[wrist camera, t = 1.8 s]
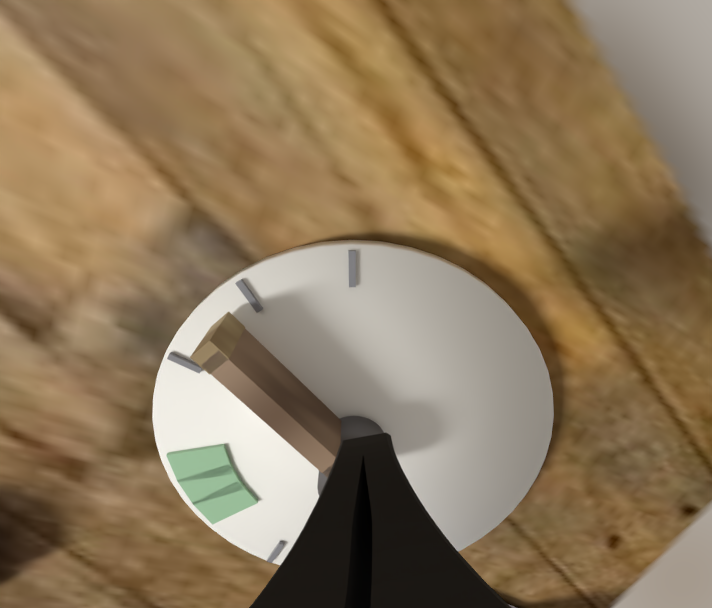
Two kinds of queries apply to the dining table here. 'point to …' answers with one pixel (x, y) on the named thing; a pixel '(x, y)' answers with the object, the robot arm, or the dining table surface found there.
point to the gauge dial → (360, 390)
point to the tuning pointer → (277, 395)
